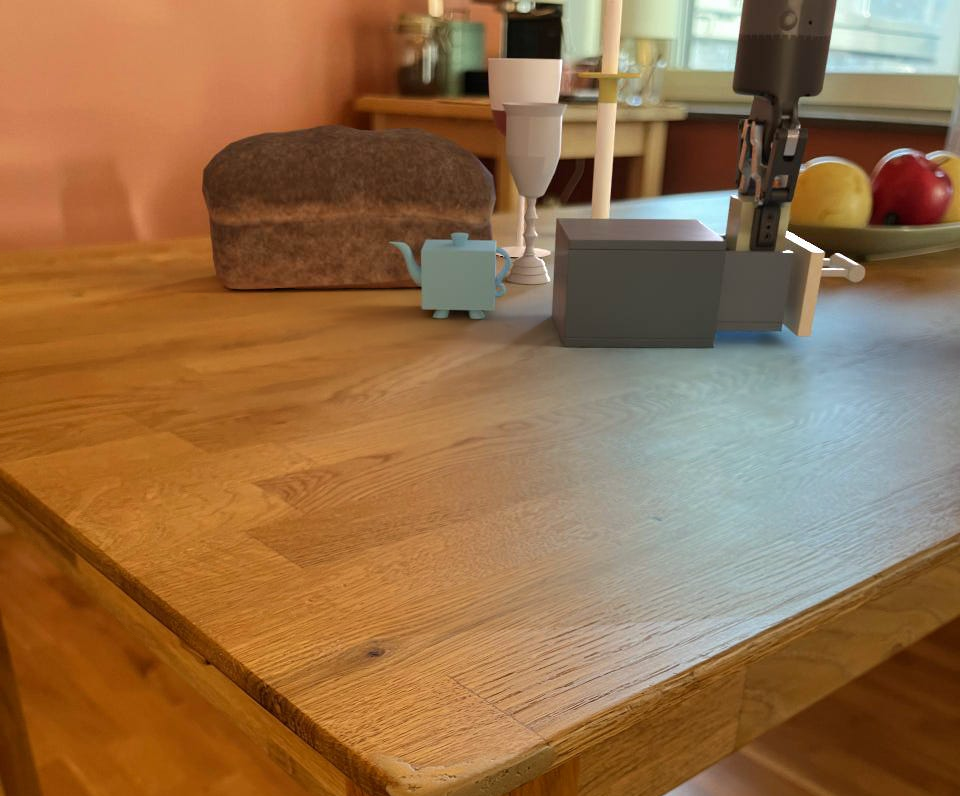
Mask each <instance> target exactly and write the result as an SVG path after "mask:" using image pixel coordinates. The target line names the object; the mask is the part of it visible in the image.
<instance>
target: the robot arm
mask: <svg viewBox="0 0 960 796" xmlns="http://www.w3.org/2000/svg"><path fill="white" fill-rule="evenodd" d="M837 1H838V0H742V6H741V15H740V22H739V29H738V37H737V46H736V54H735V63H734V71H733V80H732V86H731V87H732V91H733V93H734V94H736V95H739V96H751V97H753V100H752V103H751V107H750V110H749V116H748V118H744V119H742V118H741V119H739V121H738V124H737V144H736V159H735V175H734V176H735V177H734V183H733V184H734V189H735V190H737V195H738V196H755V200H754V203H755V207H756V208H755V209H754V216H753V223H752V230H751V237H750V244H749V248H750V250H751V251H774V250H775V248H776V241H777V234H778V228H779V221H780V215H781V208H784V207H785V204H786V203H791V204H792V201H793V200H794V197H795V190H796V188H797V183H798V179H799V176H800V171H801V168H802V163H803V159H804V155H805V152H806V151H805V150H806V147H807V142H808V140H809V130H808V128H801V122H800V121H799V101H800V99H801V98H813V97H817V96H820V94H821V93H822V92H823V89H824V83H825V77H826V71H827V65H828V59H829V58H828V57H829V52H830V46H831V45H830V44H831V40H832V34H833V28H834V22H835V15H836V9H837ZM775 181H776V182H777V186H774V183H775Z"/></svg>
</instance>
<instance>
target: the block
mask: <svg viewBox="0 0 960 796" xmlns="http://www.w3.org/2000/svg"><path fill="white" fill-rule="evenodd" d="M754 200H755V196H739V195H738V194H737V195H736V194H735V195H733V194H732V195H730V198H729V205H728V213H727V220H726V227H725V234H726V235H725V240H726V241H727V246H726V248H728V249H729V250H730V251H751V250H750V248H749V244H750V237H751V230H752V223H753V216H754V209H755V208H756V207H755V203H754ZM791 208H792V202H791V203H786V204H785V207H784V208H781V215H780V221H779V228H778V234H777V241H776V248H775V250H774V251H784V248H785V241H786V235H787V231H788V227H789V222H790V216H791Z"/></svg>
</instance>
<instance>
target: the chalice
mask: <svg viewBox="0 0 960 796" xmlns="http://www.w3.org/2000/svg"><path fill="white" fill-rule="evenodd" d="M502 105H503V107H504V110H505V112H506V115H507V119H506V137H505V156H506V160H507V164H508V168H509V172H510V174H511V178H512V180H513V182H514V185H515V188H516V190H517V194H518V193H519V194H520V195H521V196H523V197H524V199H526V206H527V207H526V209H525V213H524V222H525V225H526V226H525V231H523V239H524V243H525V247H526V248H525V252H524V253H523V256H522V257H520V258H515V260H514V261H513V262H512V267H510V268H511V269H509V271H510V272H509V275H508V276H507V277H506V281H507V282H509V283H513V284H520V285H540V284H541V285H542V284H547V283H549V282H551V278H550V276H549V275H548V269H547V267H546V266H545V265H546V263H545V262H544V260H543V259H542V257H536V256H535V255H536V254H535V253H534V248H535V246H534V245H535V241H536V239H537V237H538V236H539V235H538V234H537V232H536V229H535V225H536V221H537V220H538V215H537V212H536V204H537V199H539V198H540V197H543V196H544V195H545V193H546V191H547V189H548V187H549V185H550V183H551V181H552V179H553V176H554V175H555V173H556V170H557V167H558V163H559V160H560V159H561V149H562V131H563V115H564V113H565V112H566V110H567V107H568V104H567V103H559V102H558V103H531V102H515V103H502Z"/></svg>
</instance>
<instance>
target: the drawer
mask: <svg viewBox="0 0 960 796" xmlns="http://www.w3.org/2000/svg"><path fill="white" fill-rule="evenodd" d="M716 234H717V235H719V236H720V237H721V238H723V239H724V240H725V235H726V233H716ZM825 256H826V252H825V251H824V250H822V249H820V248H818V247H817V246H815V245H813V244H811V243H810V242H807V241H805V240H804V239H802V238H800V237H798V236H797V235H795V234H794V233H792V232H789V231H788V230H787V235H786V241H785V248H784V251H730V250H729V249H728V248H726V254H725V262H724V270H723V278H722V286H721V293H720V301H719V309H718V317H717V325H716V332H782V330H783V326H784V327H786V329H788V331H790V332H792V334H793V335H794V336H796V337H797V338H810V337H811V336H812V330H813V324H814V318H815V312H816V307H817V301H818V295H819V291H820V284H821V278H822V277H834V278H835V277H837V278H838V277H841V278H842V277H843V278H846V279H847V280H849V281H850V282H852V283H858V282H861V281H862V280H863V279H864V278H865V276H866V269H865V267H864V266H863V265H861V264H859V263H858V262H855V261H854V260H852V259H850V258H848V257H846V256H844V255H843V254H841V253H834V254H832V255H830V257H829V258H825ZM823 267H828V268H823Z"/></svg>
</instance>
